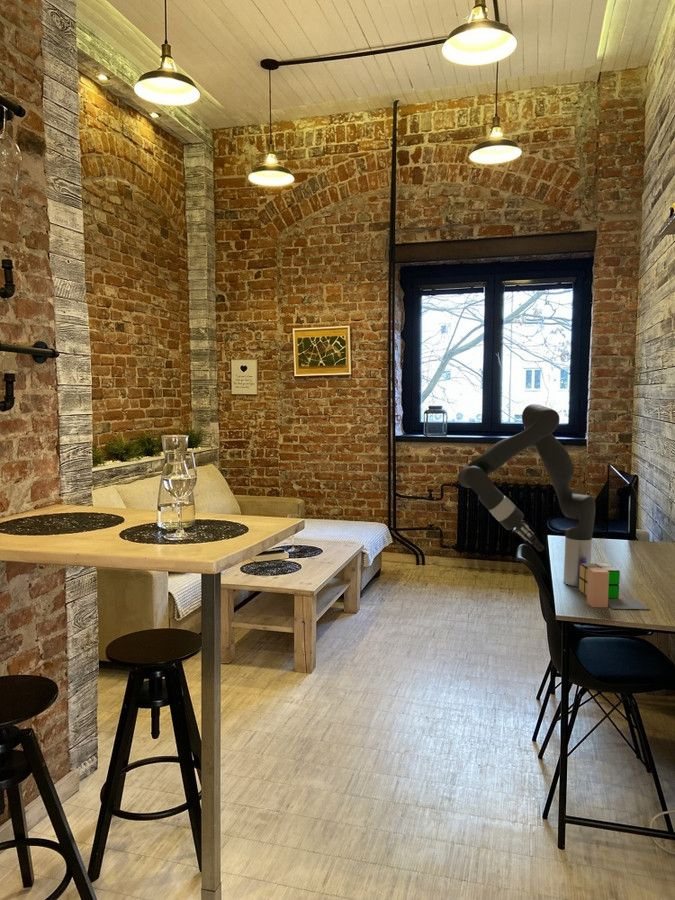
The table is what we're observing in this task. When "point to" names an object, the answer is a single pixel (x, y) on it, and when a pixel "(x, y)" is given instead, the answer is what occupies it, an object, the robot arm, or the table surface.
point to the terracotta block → (597, 587)
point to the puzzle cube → (613, 578)
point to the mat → (626, 604)
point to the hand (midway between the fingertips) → (542, 549)
